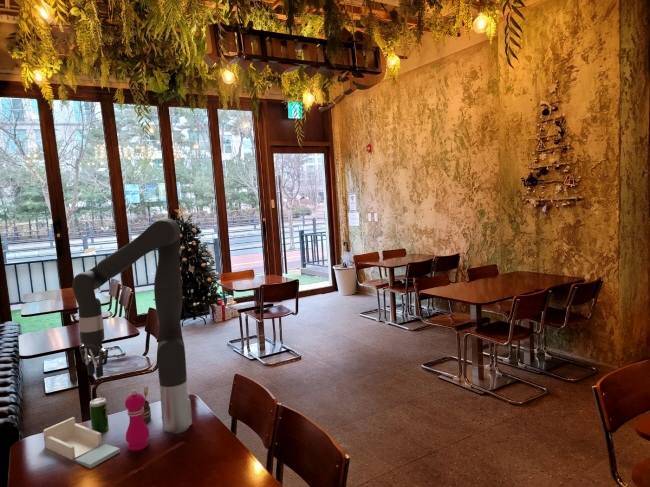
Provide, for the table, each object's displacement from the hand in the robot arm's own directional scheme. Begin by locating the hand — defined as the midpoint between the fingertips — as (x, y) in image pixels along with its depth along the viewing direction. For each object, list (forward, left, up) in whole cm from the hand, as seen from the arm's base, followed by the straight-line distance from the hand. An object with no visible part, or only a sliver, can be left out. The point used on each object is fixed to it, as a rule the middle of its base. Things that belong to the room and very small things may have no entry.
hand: (95, 375), depth 155 cm
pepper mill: (0, +21, -21) cm, 30 cm away
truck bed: (+10, +2, -21) cm, 24 cm away
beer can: (0, 0, -21) cm, 21 cm away
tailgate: (+10, +11, -20) cm, 25 cm away
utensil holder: (-13, +6, -21) cm, 26 cm away
